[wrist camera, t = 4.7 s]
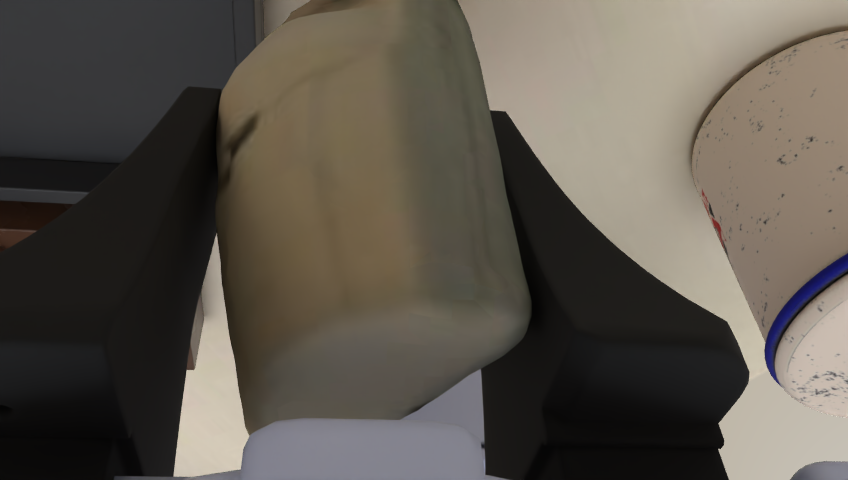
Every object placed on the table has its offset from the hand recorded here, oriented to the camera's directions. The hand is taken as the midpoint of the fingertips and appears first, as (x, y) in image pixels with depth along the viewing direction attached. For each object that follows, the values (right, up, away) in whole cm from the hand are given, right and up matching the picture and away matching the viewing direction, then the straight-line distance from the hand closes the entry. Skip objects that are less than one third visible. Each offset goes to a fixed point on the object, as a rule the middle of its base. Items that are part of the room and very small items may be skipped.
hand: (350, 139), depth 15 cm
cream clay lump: (0, +2, +2) cm, 2 cm away
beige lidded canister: (+17, +2, +13) cm, 21 cm away
